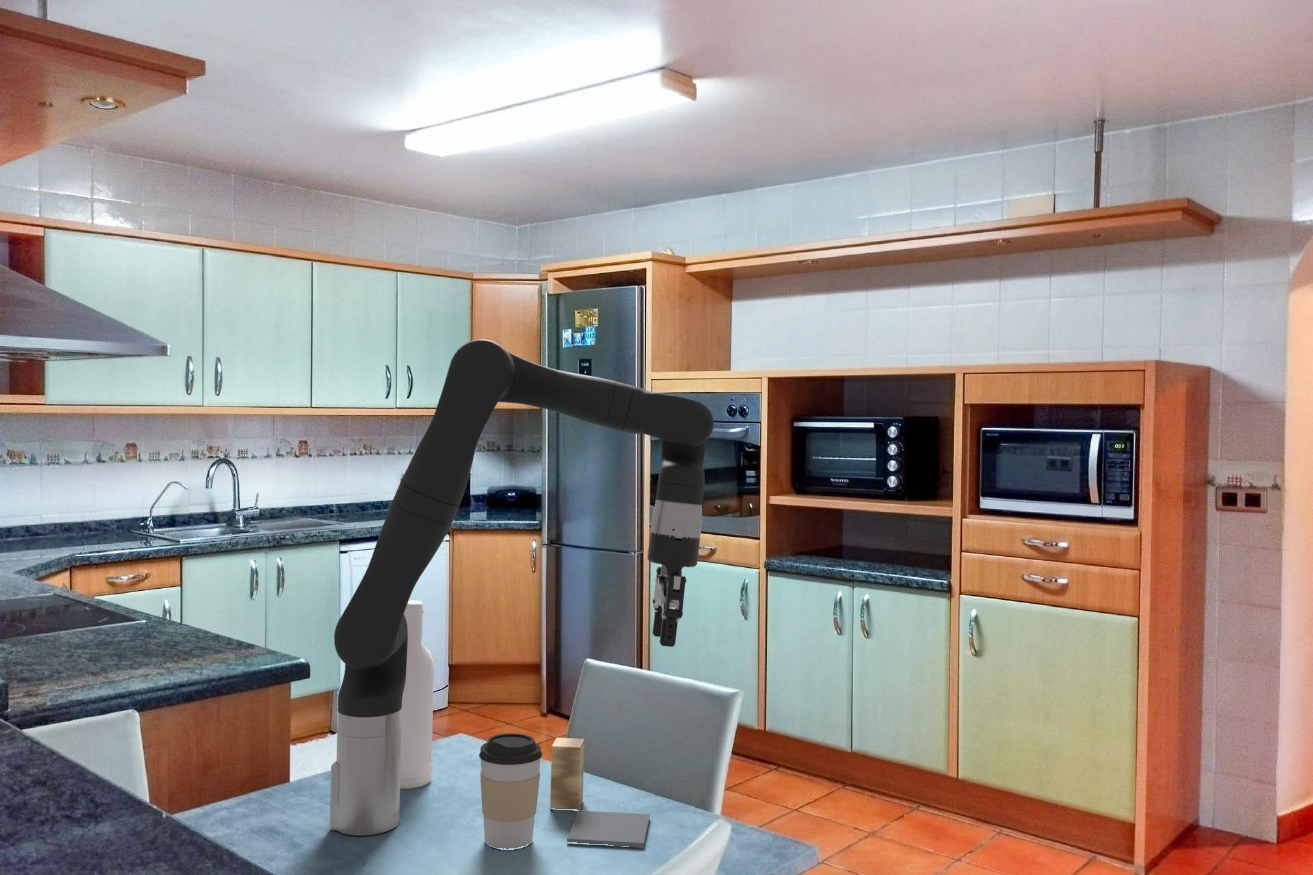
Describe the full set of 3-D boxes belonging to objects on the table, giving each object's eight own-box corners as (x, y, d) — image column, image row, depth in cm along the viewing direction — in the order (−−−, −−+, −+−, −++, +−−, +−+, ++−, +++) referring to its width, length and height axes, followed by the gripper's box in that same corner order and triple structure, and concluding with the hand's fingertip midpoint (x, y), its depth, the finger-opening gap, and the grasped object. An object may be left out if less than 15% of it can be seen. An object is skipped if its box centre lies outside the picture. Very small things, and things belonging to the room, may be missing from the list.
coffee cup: (510, 823, 153) (513, 724, 153) (553, 840, 147) (555, 736, 147) (463, 841, 146) (466, 737, 146) (506, 859, 140) (509, 751, 140)
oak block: (550, 809, 159) (551, 746, 159) (555, 799, 164) (556, 737, 164) (578, 811, 159) (580, 747, 159) (582, 800, 163) (584, 738, 163)
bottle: (394, 771, 175) (398, 597, 175) (438, 774, 174) (443, 599, 174) (375, 787, 167) (380, 604, 167) (421, 791, 166) (426, 607, 166)
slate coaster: (567, 844, 146) (567, 838, 146) (578, 815, 157) (578, 810, 157) (643, 848, 145) (643, 842, 145) (649, 819, 156) (649, 814, 156)
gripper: (645, 527, 159) (633, 631, 158) (656, 532, 145) (643, 646, 144) (692, 532, 160) (680, 636, 159) (708, 538, 146) (695, 651, 145)
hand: (663, 641), depth 152 cm, fingers open, 8 cm apart
